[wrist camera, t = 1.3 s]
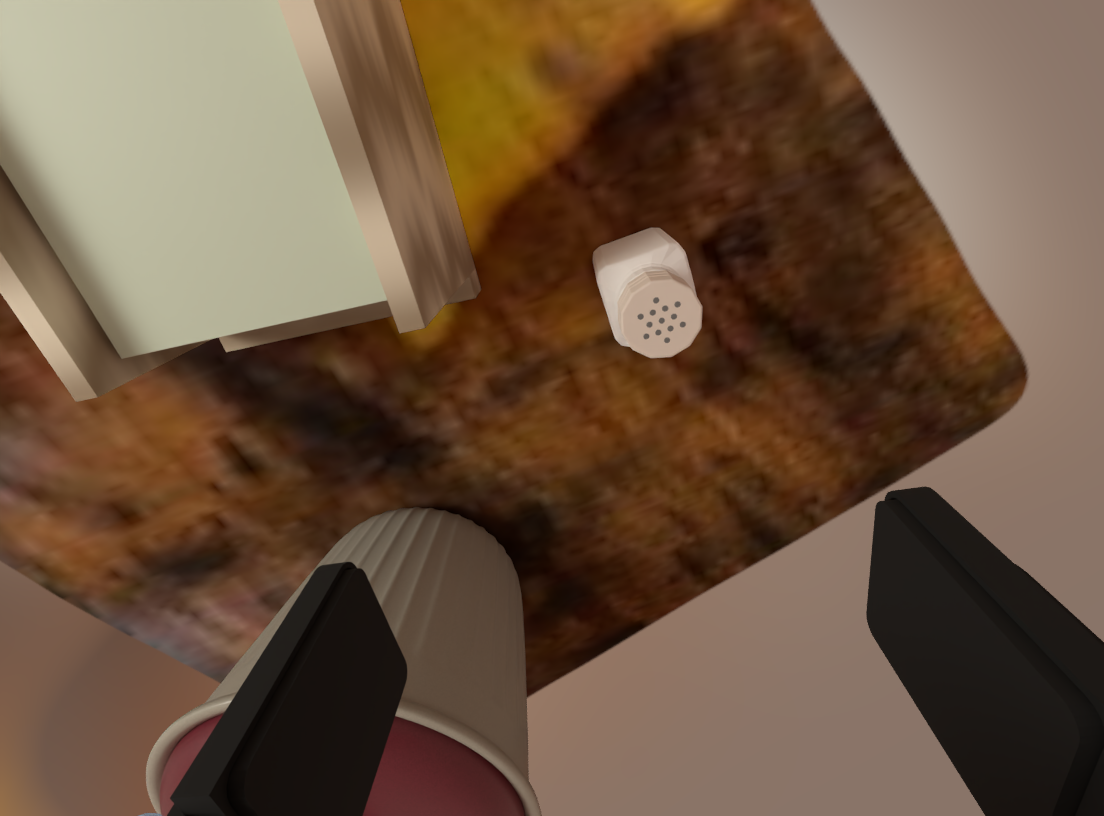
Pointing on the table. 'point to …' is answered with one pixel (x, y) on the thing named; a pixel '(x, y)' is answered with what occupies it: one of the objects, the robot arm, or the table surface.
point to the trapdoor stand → (370, 178)
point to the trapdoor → (178, 166)
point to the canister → (418, 672)
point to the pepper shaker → (648, 293)
